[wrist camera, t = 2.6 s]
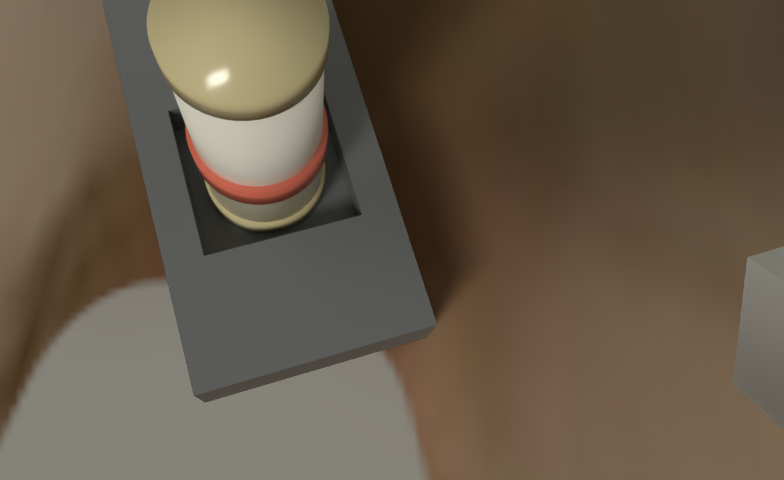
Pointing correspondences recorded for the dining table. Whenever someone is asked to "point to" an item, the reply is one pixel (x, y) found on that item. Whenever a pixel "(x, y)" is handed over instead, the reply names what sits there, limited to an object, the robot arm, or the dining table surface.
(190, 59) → the marked fuse
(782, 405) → the robot arm
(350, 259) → the fuse holder
